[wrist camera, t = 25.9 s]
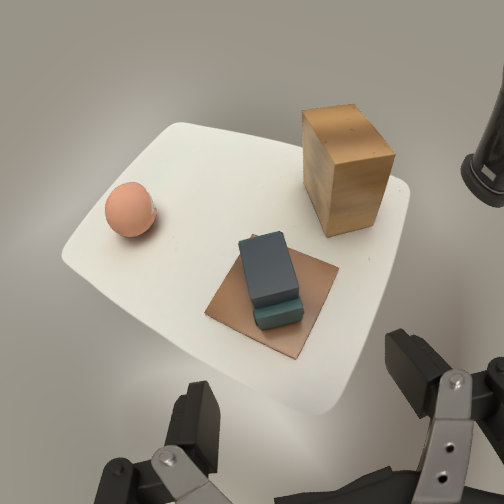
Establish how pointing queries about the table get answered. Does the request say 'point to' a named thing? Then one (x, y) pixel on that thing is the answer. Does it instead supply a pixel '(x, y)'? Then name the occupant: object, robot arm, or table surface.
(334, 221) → the wooden block
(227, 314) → the mat
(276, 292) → the toy van
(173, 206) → the table surface
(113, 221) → the toy ball
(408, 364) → the robot arm
